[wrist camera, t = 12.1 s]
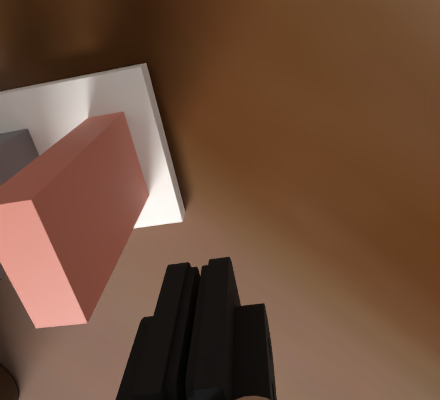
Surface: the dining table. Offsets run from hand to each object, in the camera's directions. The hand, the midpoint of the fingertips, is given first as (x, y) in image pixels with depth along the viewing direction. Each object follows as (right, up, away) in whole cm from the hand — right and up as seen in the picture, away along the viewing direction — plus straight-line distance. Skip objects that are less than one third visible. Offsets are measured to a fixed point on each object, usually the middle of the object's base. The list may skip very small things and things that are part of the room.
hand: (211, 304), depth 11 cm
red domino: (-5, +5, +11) cm, 13 cm away
